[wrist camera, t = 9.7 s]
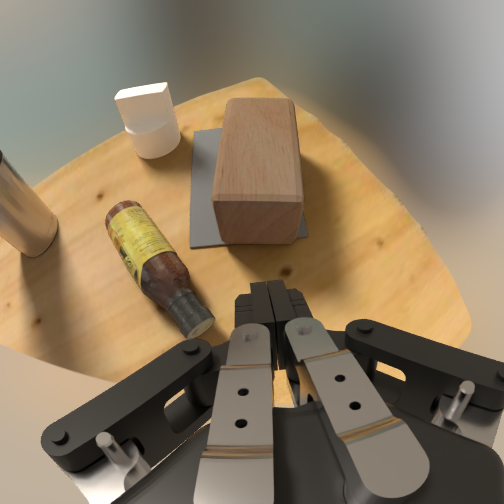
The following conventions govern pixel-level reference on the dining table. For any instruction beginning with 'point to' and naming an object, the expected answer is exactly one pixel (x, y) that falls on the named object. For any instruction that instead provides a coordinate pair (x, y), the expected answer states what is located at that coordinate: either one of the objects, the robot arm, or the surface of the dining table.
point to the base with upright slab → (149, 119)
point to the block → (258, 173)
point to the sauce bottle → (156, 267)
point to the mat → (209, 191)
